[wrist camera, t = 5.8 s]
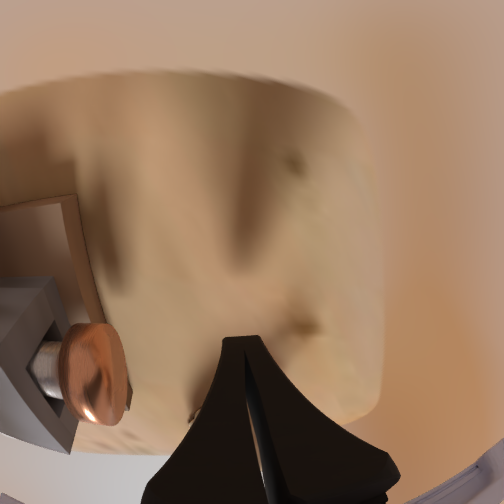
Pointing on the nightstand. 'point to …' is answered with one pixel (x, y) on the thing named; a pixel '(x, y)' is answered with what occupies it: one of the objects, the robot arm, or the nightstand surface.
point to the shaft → (84, 372)
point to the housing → (41, 311)
